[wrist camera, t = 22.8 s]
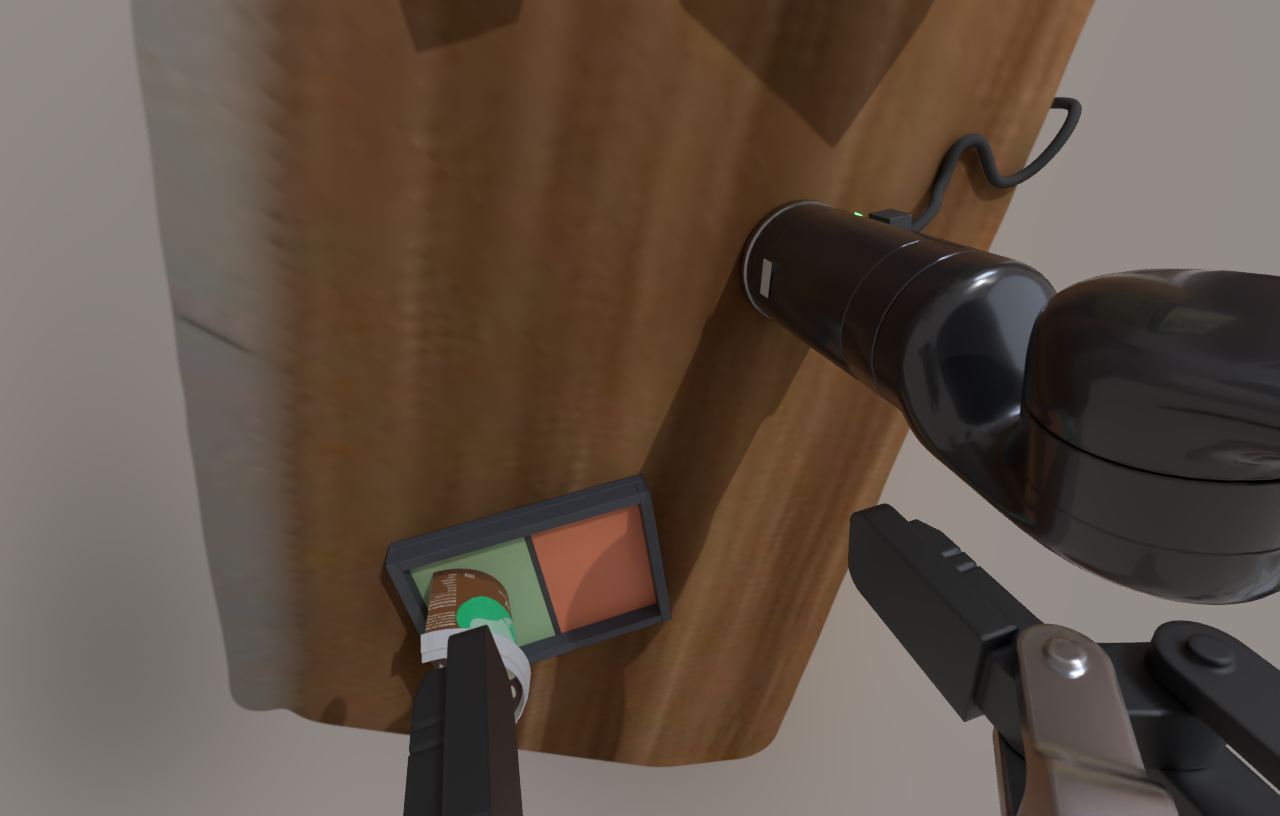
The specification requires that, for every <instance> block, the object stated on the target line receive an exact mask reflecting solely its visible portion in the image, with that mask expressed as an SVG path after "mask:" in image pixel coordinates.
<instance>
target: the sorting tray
mask: <svg viewBox="0 0 1280 816" xmlns="http://www.w3.org/2000/svg"><path fill="white" fill-rule="evenodd" d="M458 568H464V569H473V570H478V571H481V572H484V573H487V574H489V575H491V576H493V577H494V578H496V579H497V580H498V581H500V583H501V584H502V585H503V586H504V588H505V589H506V591H507V594H508V598H509V603H510V608H511V613H512V619H513V624H514V629H515V634H516V640H517V645H518V647H519V648H520V649H521V650H522V651H523V652H524V654H525V656H526V657H527V659H528V662H529V665H530V664H533V663H536V662H539V661H542V660H545V659H548V658H551V657H554V656H558V655H561V654H564V653H567V652H570V651H573V650H576V649H579V648H582V647H585V646H589V645H592V644H595V643H598V642H601V641H604V640H607V639H610V638H613V637H617V636H620V635H623V634H626V633H629V632H632V631H635V630H638V629H641V628H644V627H648V626H651V625H654V624H657V623H660V622H662V621H666V620H670V619H672V616H671V611H670V605H669V599H668V593H667V587H666V581H665V575H664V569H663V564H662V558H661V552H660V546H659V540H658V534H657V528H656V522H655V517H654V511H653V505H652V499H651V493H650V490H649V488H648V486H647V484H646V481H645V479H644V477H643V475H642V474H639V475H635V476H632V477H628V478H625V479H621V480H617V481H614V482H610V483H607V484H603V485H599V486H596V487H592V488H589V489H585V490H582V491H578V492H574V493H571V494H567V495H564V496H560V497H556V498H553V499H549V500H546V501H542V502H538V503H535V504H531V505H528V506H524V507H521V508H517V509H513V510H510V511H506V512H503V513H499V514H495V515H492V516H488V517H485V518H481V519H477V520H474V521H470V522H467V523H463V524H460V525H456V526H452V527H449V528H445V529H442V530H438V531H434V532H431V533H427V534H424V535H420V536H416V537H413V538H409V539H406V540H402V541H399V542H395V543H391V544H389V550H388V555H387V561H386V569H387V571H388V573H389V575H390V577H391V579H392V581H393V583H394V585H395V587H396V589H397V591H398V593H399V595H400V597H401V599H402V601H403V603H404V605H405V607H406V609H407V611H408V613H409V615H410V617H411V619H412V621H413V623H414V625H415V627H416V629H417V631H418V633H419V635H420V637H421V635H422V634H425V631H426V624H427V616H428V609H429V601H430V594H431V586H432V579H433V573H434V572H438V571H442V570H447V569H458Z"/></svg>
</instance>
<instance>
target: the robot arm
mask: <svg viewBox="0 0 1280 816" xmlns="http://www.w3.org/2000/svg"><path fill="white" fill-rule="evenodd" d="M1050 109H1065V110H1068V116H1067V118H1066V121H1065V123H1064V124H1063V126H1062V128H1061V129H1060V131H1059V133H1058V134H1057V135H1056V137H1055V138H1054V140H1053V141H1052V142H1051V143H1050V145H1049V146H1048V147H1047V148H1046V149H1045V150H1044V152H1043V153H1042V154H1041V155H1040V156H1039V157H1038V158H1037V159H1036V160H1034V161H1033V162H1032V163H1031V164H1030V165H1028V166H1027V167H1026V168H1024V169H1023V170H1021V171H1020V172H1018V173H1016V174H1014V175H1012V176H1009V177H1002V176H1001V175H1000V174H999V173H998V170H997V168H996V165H995V161H994V157H993V154H992V150H991V147H990V145H989V143H988V141H987V140H986V139H985V138H984V137H983V136H982V135H979V134H969V135H966V136H964V137H962V138H960V139H959V140H958V141H957V142H956V143H955V144H954V145H953V146H952V148H951V149H950V151H949V152H948V154H947V156H946V159H945V161H944V163H943V166H942V169H941V171H940V174H939V177H938V179H937V182H936V184H935V186H934V188H933V190H932V193H931V196H930V201H929V204H928V206H927V208H926V210H925V211H924V212H923V213H922V214H921V215H920V216H919V217H918V218H917V219H916V220H915V221H914V222H912V214H909V213H905V212H901V211H897V210H893V209H887V210H883V211H878V212H874V213H869V218H868V217H864V216H862V215H860V214H858V213H855V214H854V213H850V212H847V211H843V210H840V209H836V208H834V207H832V206H830V205H827V204H824V203H821V202H817V201H813V200H797V201H792V202H789V203H786V204H783V205H781V206H779V207H777V208H776V209H774V210H773V211H771V212H770V213H769V214H767V215H766V216H765V217H764V218H763V219H762V220H761V221H760V222H759V223H758V224H757V226H756V227H755V228H754V230H753V231H752V233H751V234H750V236H749V238H748V240H747V242H746V244H745V247H744V250H743V253H742V257H741V263H740V279H741V285H742V288H743V291H744V294H745V296H746V298H747V299H748V301H749V302H750V304H751V305H752V306H753V307H754V308H755V309H756V310H757V311H759V312H760V313H762V314H763V315H764V316H766V317H768V318H770V319H772V320H774V321H775V322H777V323H778V324H779V325H780V326H782V327H783V328H785V329H786V330H787V331H789V332H790V333H792V334H793V335H794V336H796V337H797V338H799V339H800V340H802V341H803V342H804V343H806V344H807V345H809V346H810V347H811V348H813V349H814V350H816V351H817V352H818V353H820V354H821V355H823V356H824V357H826V358H827V359H828V360H830V361H831V362H833V363H834V364H835V365H837V366H838V367H840V368H841V369H843V370H844V371H845V372H847V373H848V374H850V375H851V376H852V377H854V378H855V379H857V380H858V381H860V382H861V383H863V384H864V385H865V386H867V387H868V388H870V389H871V390H872V391H874V392H875V393H877V394H878V395H880V396H881V397H882V398H884V399H885V400H887V401H888V402H890V403H891V404H892V405H893V406H895V407H896V408H898V409H899V410H900V411H901V412H902V413H903V415H904V417H905V419H906V421H907V423H908V425H909V427H910V428H911V430H912V432H913V433H914V435H915V436H916V437H917V439H918V440H919V441H920V443H921V444H922V445H923V446H924V447H925V448H926V449H927V450H928V451H929V452H930V453H931V454H932V455H933V456H935V457H936V458H937V459H938V460H939V461H941V462H942V463H943V464H944V465H945V466H947V467H948V468H949V469H950V470H951V471H953V472H954V473H955V474H956V475H957V476H958V477H959V478H961V479H962V480H963V481H964V482H966V483H967V484H968V485H969V486H970V487H971V488H972V489H974V490H975V491H976V492H977V493H978V494H979V495H980V496H982V497H983V498H984V499H985V500H986V501H988V502H989V503H990V504H991V505H992V506H994V507H995V508H996V509H997V510H998V511H999V512H1000V513H1002V514H1003V515H1004V516H1005V517H1007V518H1008V519H1009V520H1011V521H1012V522H1013V523H1014V524H1015V525H1017V526H1018V527H1019V528H1020V529H1022V530H1023V531H1024V532H1025V533H1027V534H1028V535H1029V536H1031V537H1032V538H1033V539H1035V540H1036V541H1038V542H1039V543H1040V544H1042V545H1043V546H1044V547H1046V548H1048V549H1049V550H1051V551H1052V552H1054V553H1055V554H1057V555H1059V556H1060V557H1062V558H1063V559H1065V560H1066V561H1068V562H1070V563H1072V564H1074V565H1075V566H1077V567H1079V568H1081V569H1083V570H1085V571H1087V572H1089V573H1091V574H1093V575H1095V576H1097V577H1099V578H1102V579H1104V580H1106V581H1108V582H1110V583H1113V584H1115V585H1118V586H1120V587H1124V588H1126V589H1129V590H1132V591H1135V592H1138V593H1142V594H1145V595H1149V596H1153V597H1157V598H1160V599H1165V600H1170V601H1175V602H1182V603H1190V604H1204V605H1225V604H1238V603H1244V602H1250V601H1254V600H1258V599H1262V598H1264V597H1267V596H1269V595H1271V594H1274V593H1276V592H1279V591H1280V276H1275V275H1267V274H1257V273H1256V274H1255V273H1247V272H1237V271H1224V270H1212V269H1144V270H1133V271H1126V272H1119V273H1112V274H1106V275H1102V276H1097V277H1093V278H1090V279H1086V280H1084V281H1081V282H1078V283H1076V284H1073V285H1071V286H1069V287H1067V288H1066V289H1064V290H1062V291H1060V292H1059V293H1057V292H1056V290H1055V289H1054V288H1053V286H1052V285H1051V283H1050V282H1049V281H1048V280H1047V279H1046V278H1045V277H1044V276H1043V275H1042V274H1041V273H1040V272H1038V271H1037V270H1036V269H1034V268H1033V267H1031V266H1028V265H1026V264H1024V263H1022V262H1019V261H1016V260H1014V259H1010V258H1007V257H1003V256H1000V255H997V254H993V253H989V252H986V251H983V250H979V249H976V248H972V247H969V246H965V245H962V244H958V243H955V242H951V241H947V240H943V239H940V238H936V237H933V236H929V235H926V234H923V233H920V231H921V230H922V229H923V228H924V227H925V226H926V225H927V224H928V223H929V222H930V221H931V220H932V219H933V218H934V217H935V215H936V214H937V212H938V211H939V209H940V207H941V202H942V197H943V194H944V192H945V190H946V188H947V185H948V183H949V181H950V178H951V176H952V173H953V170H954V168H955V165H956V163H957V161H958V159H959V157H960V155H961V153H962V152H963V151H964V150H965V149H966V148H967V147H969V146H974V147H975V148H976V150H977V152H978V154H979V157H980V161H981V164H982V168H983V171H984V174H985V176H986V178H987V180H988V181H989V183H990V184H991V185H992V186H994V187H996V188H1008V187H1012V186H1015V185H1017V184H1020V183H1022V182H1024V181H1025V180H1027V179H1029V178H1030V177H1032V176H1033V175H1034V174H1036V173H1037V172H1038V171H1040V170H1041V169H1042V168H1043V167H1044V166H1045V165H1046V164H1047V163H1048V162H1049V161H1050V160H1051V159H1052V158H1053V157H1054V156H1055V155H1056V154H1057V153H1058V151H1059V150H1060V149H1061V148H1062V147H1063V145H1064V144H1065V143H1066V141H1067V140H1068V138H1069V137H1070V136H1071V134H1072V132H1073V131H1074V129H1075V127H1076V125H1077V123H1078V121H1079V118H1080V115H1081V110H1082V107H1081V104H1080V103H1079V101H1078V100H1076V99H1074V98H1067V97H1054V100H1053V102H1052V105H1051V107H1050ZM848 566H849V571H850V575H851V577H852V580H853V582H854V584H855V585H856V587H857V589H858V590H859V592H860V593H861V594H862V595H863V597H864V598H865V599H866V600H867V601H868V603H869V604H870V605H871V607H872V608H873V609H874V610H875V612H876V613H877V614H878V615H879V617H880V618H881V619H882V620H883V622H884V623H885V624H886V625H887V627H888V628H889V629H890V630H891V632H892V633H893V634H894V635H895V636H896V638H897V639H898V640H899V641H900V643H901V644H902V645H903V646H904V648H905V649H906V650H907V651H908V653H909V654H910V655H911V656H912V657H913V659H914V660H915V661H916V663H917V664H918V665H919V666H920V668H921V669H922V670H923V671H924V673H926V675H927V676H928V678H929V679H930V680H931V681H932V682H933V684H934V685H935V686H936V687H937V689H938V690H939V691H940V692H941V693H942V695H943V696H944V697H945V699H946V700H947V701H948V702H949V704H950V705H951V706H952V707H953V708H954V710H955V711H956V712H957V714H958V715H959V716H960V717H961V719H962V720H963V721H964V722H966V721H969V720H971V719H974V718H976V717H979V716H981V715H985V716H986V717H987V718H988V720H989V721H990V722H991V723H992V724H993V725H994V729H993V744H994V753H995V764H996V773H997V783H998V792H999V802H1000V813H1001V816H1280V795H1279V794H1277V793H1276V792H1275V791H1274V790H1273V789H1272V788H1271V787H1270V786H1269V785H1268V784H1266V783H1265V782H1264V781H1263V780H1262V779H1261V778H1260V777H1259V776H1258V775H1256V774H1255V773H1254V772H1253V771H1252V770H1251V769H1250V768H1249V767H1248V766H1247V765H1245V764H1244V763H1243V762H1242V761H1241V760H1240V759H1239V758H1238V757H1237V756H1236V755H1235V754H1233V753H1232V752H1231V751H1230V750H1229V749H1228V748H1227V747H1226V744H1228V745H1229V746H1231V747H1232V748H1233V749H1234V750H1235V751H1236V752H1237V753H1238V754H1240V755H1241V756H1242V757H1243V758H1244V759H1245V760H1246V761H1247V762H1248V763H1249V764H1251V765H1252V766H1253V767H1254V768H1255V769H1256V770H1257V771H1258V772H1259V773H1261V774H1262V775H1263V776H1264V777H1265V778H1266V779H1267V780H1268V781H1269V782H1271V783H1272V784H1273V785H1274V786H1275V787H1277V789H1278V790H1279V791H1280V670H1278V669H1277V668H1276V667H1274V666H1273V665H1271V664H1270V663H1269V662H1267V661H1266V660H1265V659H1263V658H1262V657H1261V656H1259V655H1258V654H1257V653H1255V652H1254V651H1253V650H1251V649H1250V648H1249V647H1247V646H1246V645H1244V644H1243V643H1242V642H1240V641H1239V640H1237V639H1236V638H1234V637H1232V636H1231V635H1229V634H1227V633H1225V632H1223V631H1221V630H1219V629H1216V628H1214V627H1211V626H1208V625H1204V624H1201V623H1197V622H1191V621H1171V622H1166V623H1164V624H1162V625H1160V626H1159V627H1158V628H1157V629H1156V631H1155V633H1154V635H1153V637H1152V639H1151V642H1139V643H1138V642H1136V643H1095V642H1094V641H1093V640H1091V639H1090V638H1089V637H1087V636H1085V635H1083V634H1082V633H1080V632H1077V631H1075V630H1073V629H1070V628H1067V627H1064V626H1060V625H1054V624H1044V623H1043V622H1042V621H1040V620H1039V619H1038V618H1037V617H1036V616H1034V615H1033V614H1032V613H1031V612H1030V611H1029V610H1028V609H1027V608H1026V607H1025V606H1023V605H1022V604H1021V603H1020V602H1019V601H1018V600H1017V599H1016V598H1015V597H1013V596H1012V595H1011V594H1010V593H1009V592H1008V591H1007V590H1006V589H1004V587H1002V586H1001V585H1000V584H999V583H998V582H997V581H996V580H995V579H993V578H992V577H991V576H990V575H989V574H988V573H987V572H986V571H985V570H984V569H982V568H981V567H980V566H979V567H978V566H977V565H976V562H975V561H974V560H972V559H971V558H970V557H969V556H968V555H967V554H966V553H965V552H961V550H960V548H959V547H958V546H957V545H956V544H955V543H954V542H953V541H951V540H950V539H949V538H948V537H947V536H946V535H945V534H944V533H942V532H941V531H939V530H937V529H935V528H933V527H931V526H929V525H927V524H925V523H923V522H921V521H919V520H917V519H916V520H912V521H909V522H908V521H907V520H906V519H905V518H904V517H903V516H902V515H900V514H899V513H898V512H897V511H896V510H895V509H894V508H893V507H892V506H890V505H889V504H880V505H877V506H874V507H871V508H867V509H864V510H861V511H858V512H854V513H853V514H852V515H851V518H850V532H849V553H848ZM411 729H412V733H410V745H409V752H410V756H409V757H408V767H407V779H406V790H405V802H404V813H403V816H523V813H522V801H521V788H520V775H519V763H518V750H517V738H516V725H515V713H514V701H513V694H512V689H511V684H510V680H509V676H508V673H507V670H506V668H505V665H504V663H503V660H502V658H501V655H500V653H499V650H498V648H497V645H496V643H495V641H494V638H493V636H492V633H491V631H490V628H489V627H488V625H487V624H486V625H483V626H479V627H476V628H473V629H470V630H466V631H463V632H460V633H457V634H453V635H450V636H449V638H448V644H447V666H445V667H442V668H438V669H435V670H432V671H429V672H426V674H425V677H424V679H423V681H422V683H421V685H420V687H419V689H418V691H417V693H416V695H415V697H414V699H413V710H412V722H411Z"/></svg>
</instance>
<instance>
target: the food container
mask: <svg viewBox="0 0 1280 816" xmlns="http://www.w3.org/2000/svg"><path fill="white" fill-rule="evenodd" d="M486 624H487V625H488V627H489V628H490V631H491V633H492V636H493V638H494V641H495V643H496V645H497V648H498V650H499V653H500V655H501V658H502V660H503V663H504V665H505V668H506V670H507V673H508V676H509V680H510V684H511V689H512V694H513V701H514V713H515V724H516V723H517V721H518V719H519V718H520V716H521V714H522V712H523V709H524V706H525V704H526V701H527V698H528V692H529V685H530V677H531V672H530V665H529V662H528V659H527V657H526V656H525V654H524V652H523V651H522V650H521V649H520V648H519V647H518V645H517V640H516V634H515V629H514V624H513V619H512V613H511V608H510V603H509V598H508V594H507V591H506V589H505V588H504V586H503V585H502V584H501V583H500V581H498V580H497V579H496V578H494V577H493V576H491V575H489V574H487V573H484V572H481V571H478V570H473V569H464V568H458V569H447V570H442V571H438V572H434V573H433V579H432V586H431V594H430V601H429V609H428V616H427V624H426V631H425V634H422V635H421V654H422V663H426V662H430V663H431V664H432V665H433V667H434V669H438V668H442V667H445V666H447V644H448V638H449V636H450V635H453V634H457V633H460V632H463V631H466V630H470V629H473V628H476V627H479V626H483V625H486Z"/></svg>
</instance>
